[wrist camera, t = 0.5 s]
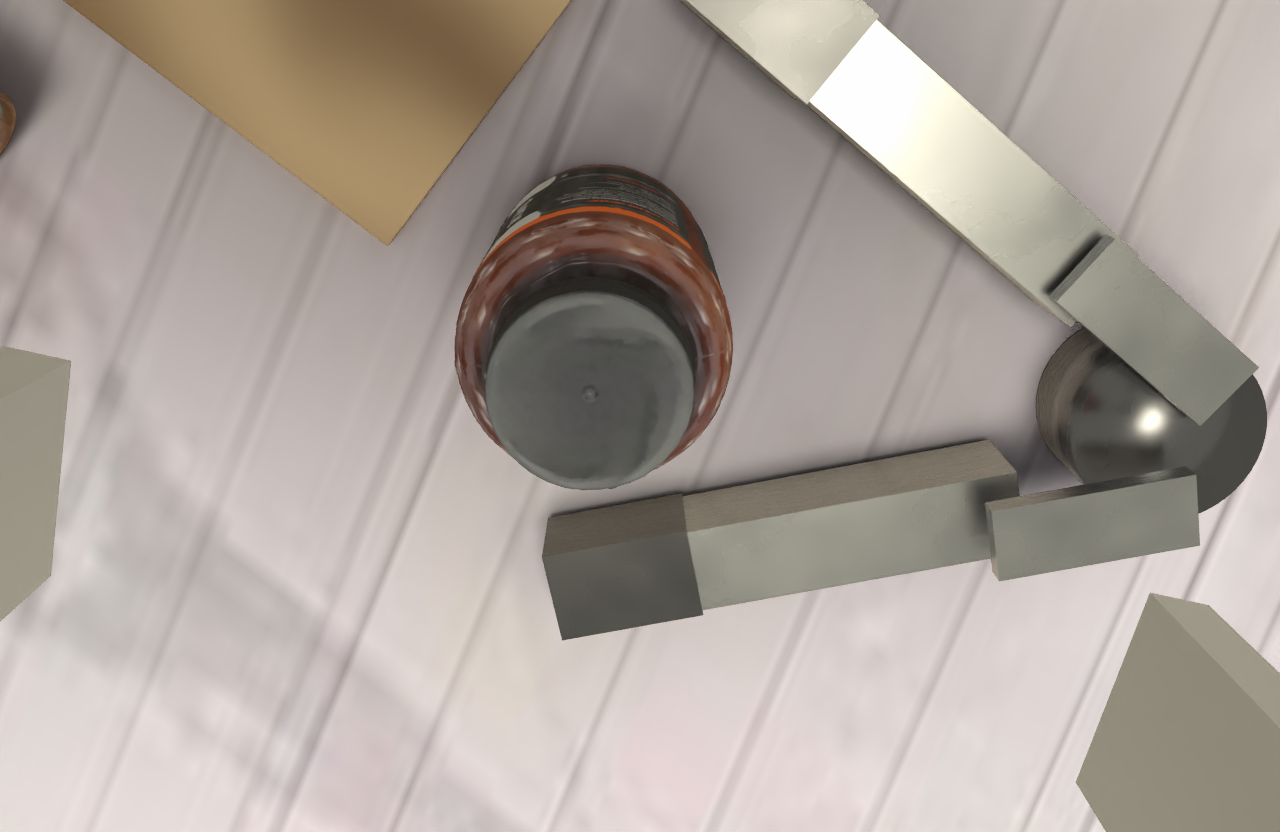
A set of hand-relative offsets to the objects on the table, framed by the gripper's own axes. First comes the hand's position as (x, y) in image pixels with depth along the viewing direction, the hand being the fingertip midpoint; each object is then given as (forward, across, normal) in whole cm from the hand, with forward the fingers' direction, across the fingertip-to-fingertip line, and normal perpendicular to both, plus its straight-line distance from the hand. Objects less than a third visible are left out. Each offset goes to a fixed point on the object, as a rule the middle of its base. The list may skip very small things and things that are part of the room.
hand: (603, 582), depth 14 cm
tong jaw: (+19, +8, -5) cm, 22 cm away
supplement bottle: (+20, 0, 0) cm, 20 cm away
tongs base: (+20, +8, +3) cm, 22 cm away
